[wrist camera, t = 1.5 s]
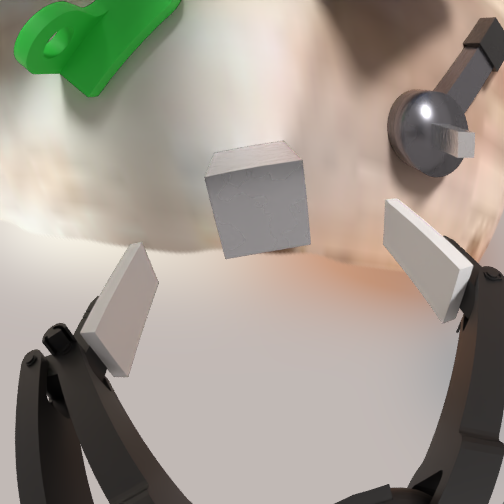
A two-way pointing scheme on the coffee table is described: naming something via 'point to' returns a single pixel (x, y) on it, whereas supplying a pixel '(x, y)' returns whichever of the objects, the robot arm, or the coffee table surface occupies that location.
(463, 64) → the ladle
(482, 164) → the coffee table surface
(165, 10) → the mechanical part
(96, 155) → the coffee table surface
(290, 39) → the coffee table surface
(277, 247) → the grey metal block
